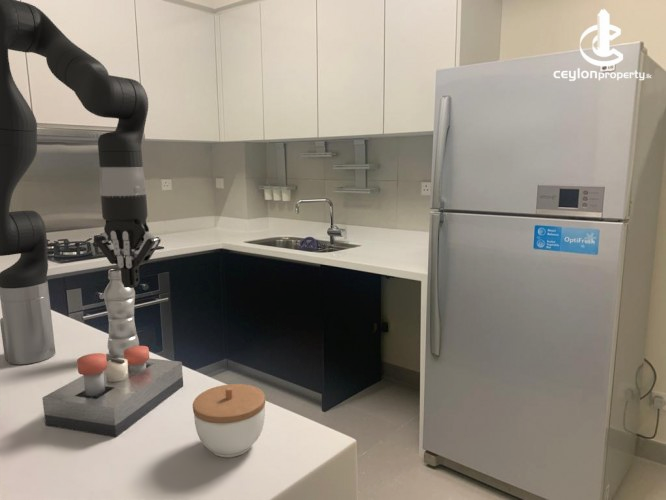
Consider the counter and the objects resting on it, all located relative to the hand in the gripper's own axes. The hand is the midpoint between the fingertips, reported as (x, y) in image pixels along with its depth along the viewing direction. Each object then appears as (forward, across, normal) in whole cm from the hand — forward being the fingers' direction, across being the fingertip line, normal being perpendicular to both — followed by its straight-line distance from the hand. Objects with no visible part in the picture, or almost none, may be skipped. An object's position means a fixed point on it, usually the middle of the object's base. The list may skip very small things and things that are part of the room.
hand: (130, 286), depth 90 cm
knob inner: (+18, 0, 0) cm, 18 cm away
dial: (+16, 0, +6) cm, 16 cm away
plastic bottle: (+21, +15, -14) cm, 29 cm away
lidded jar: (+21, -26, +12) cm, 36 cm away
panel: (+21, 0, +6) cm, 21 cm away
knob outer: (+16, 0, +11) cm, 19 cm away
